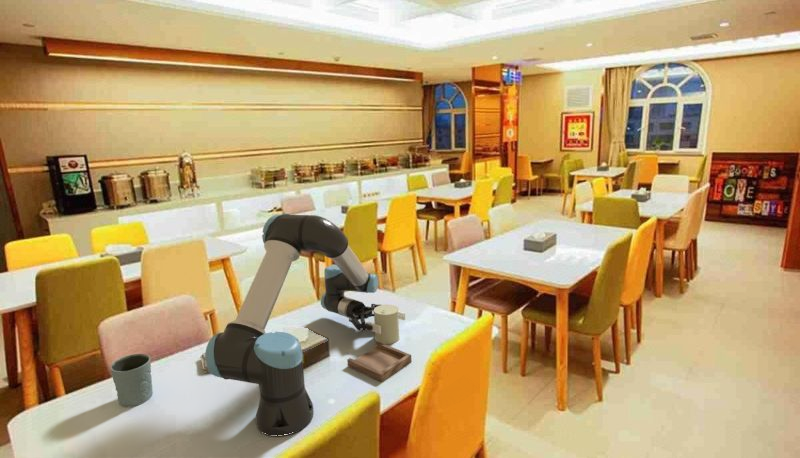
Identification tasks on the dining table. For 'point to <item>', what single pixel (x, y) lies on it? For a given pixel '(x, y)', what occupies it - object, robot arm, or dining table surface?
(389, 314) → the can
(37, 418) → the dining table surface
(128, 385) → the grey embossed cup
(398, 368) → the tray
